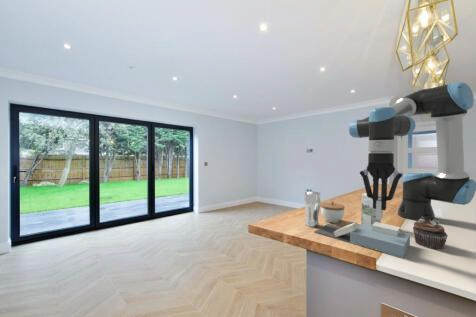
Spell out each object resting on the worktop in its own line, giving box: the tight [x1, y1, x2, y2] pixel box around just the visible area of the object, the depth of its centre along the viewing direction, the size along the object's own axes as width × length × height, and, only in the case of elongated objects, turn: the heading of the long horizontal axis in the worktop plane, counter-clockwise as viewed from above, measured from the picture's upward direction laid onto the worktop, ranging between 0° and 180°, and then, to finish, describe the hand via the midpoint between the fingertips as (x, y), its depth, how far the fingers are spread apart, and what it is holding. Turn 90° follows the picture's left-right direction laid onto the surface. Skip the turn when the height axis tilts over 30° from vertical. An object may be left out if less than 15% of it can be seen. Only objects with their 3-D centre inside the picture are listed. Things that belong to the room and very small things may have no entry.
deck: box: [349, 223, 411, 259], centre depth 81 cm, size 14×16×4 cm
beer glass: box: [304, 190, 322, 228], centre depth 100 cm, size 7×7×15 cm
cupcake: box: [412, 216, 448, 250], centre depth 81 cm, size 10×10×10 cm
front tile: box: [333, 221, 360, 237], centre depth 86 cm, size 6×8×2 cm
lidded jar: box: [320, 201, 346, 224], centre depth 107 cm, size 11×11×9 cm
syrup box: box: [360, 192, 382, 226], centre depth 101 cm, size 6×6×14 cm
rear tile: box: [372, 222, 401, 236], centre depth 83 cm, size 6×8×2 cm
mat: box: [313, 223, 350, 243], centre depth 91 cm, size 14×14×1 cm
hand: (379, 218), depth 78 cm, fingers closed
